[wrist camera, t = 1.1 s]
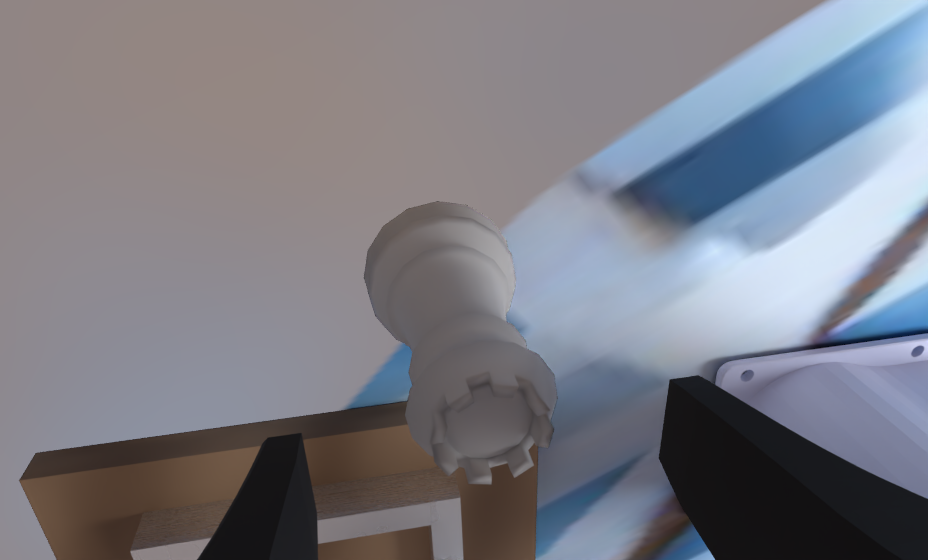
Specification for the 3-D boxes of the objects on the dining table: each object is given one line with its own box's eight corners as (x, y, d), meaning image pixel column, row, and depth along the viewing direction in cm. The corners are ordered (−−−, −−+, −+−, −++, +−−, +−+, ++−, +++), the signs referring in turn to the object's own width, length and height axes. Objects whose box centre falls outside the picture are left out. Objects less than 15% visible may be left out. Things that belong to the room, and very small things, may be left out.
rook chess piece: (526, 291, 21) (625, 464, 14) (401, 348, 21) (435, 548, 14) (475, 170, 18) (561, 302, 11) (336, 235, 19) (337, 403, 12)
